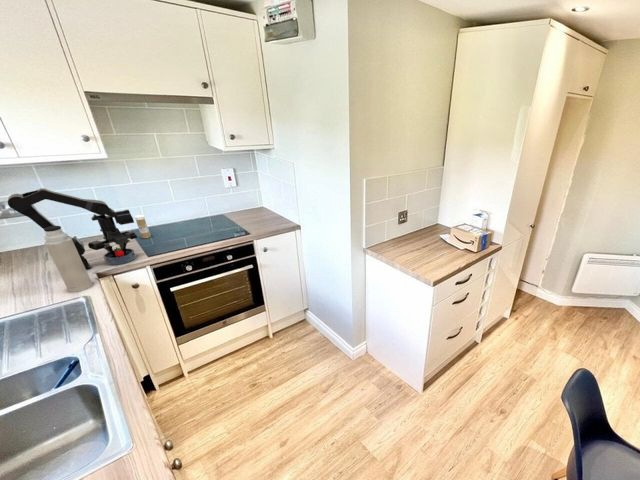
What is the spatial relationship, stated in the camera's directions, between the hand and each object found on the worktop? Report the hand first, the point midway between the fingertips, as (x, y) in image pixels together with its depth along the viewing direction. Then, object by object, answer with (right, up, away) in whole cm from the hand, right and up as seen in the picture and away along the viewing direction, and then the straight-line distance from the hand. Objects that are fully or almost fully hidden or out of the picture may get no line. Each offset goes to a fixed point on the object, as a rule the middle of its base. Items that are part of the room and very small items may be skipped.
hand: (119, 255), depth 164 cm
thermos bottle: (+3, -15, -23) cm, 27 cm away
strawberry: (0, -1, +1) cm, 1 cm away
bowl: (0, -2, +1) cm, 3 cm away
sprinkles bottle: (-9, +12, +29) cm, 32 cm away
